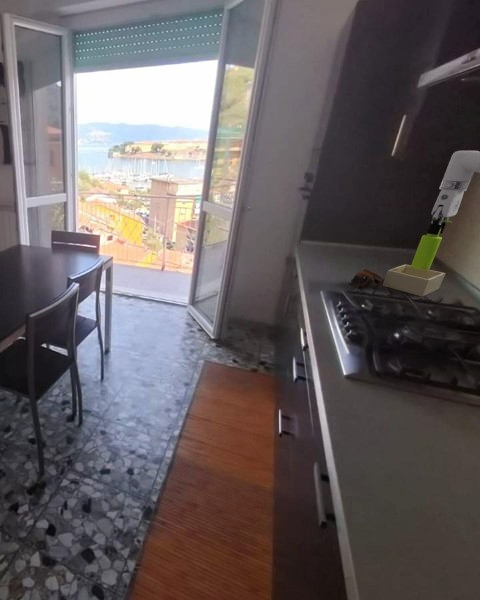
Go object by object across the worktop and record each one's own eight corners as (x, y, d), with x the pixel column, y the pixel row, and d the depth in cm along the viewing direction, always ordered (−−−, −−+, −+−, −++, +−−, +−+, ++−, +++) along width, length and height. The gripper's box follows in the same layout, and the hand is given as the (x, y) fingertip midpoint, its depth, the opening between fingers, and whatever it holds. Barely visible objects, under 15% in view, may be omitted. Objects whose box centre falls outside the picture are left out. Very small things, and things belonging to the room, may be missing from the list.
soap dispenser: (435, 270, 144) (455, 221, 136) (413, 268, 147) (432, 220, 139) (429, 266, 149) (449, 218, 141) (408, 264, 152) (426, 217, 144)
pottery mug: (345, 281, 158) (359, 266, 155) (365, 294, 155) (380, 278, 153) (353, 284, 147) (369, 267, 144) (375, 297, 144) (391, 281, 142)
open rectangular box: (438, 289, 148) (445, 273, 145) (422, 296, 141) (429, 280, 138) (399, 279, 159) (405, 264, 156) (382, 285, 152) (387, 270, 149)
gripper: (458, 188, 128) (437, 238, 136) (475, 185, 135) (455, 232, 143) (431, 186, 134) (413, 234, 142) (449, 183, 141) (431, 229, 149)
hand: (434, 233), depth 142 cm, fingers closed on soap dispenser, 3 cm apart
